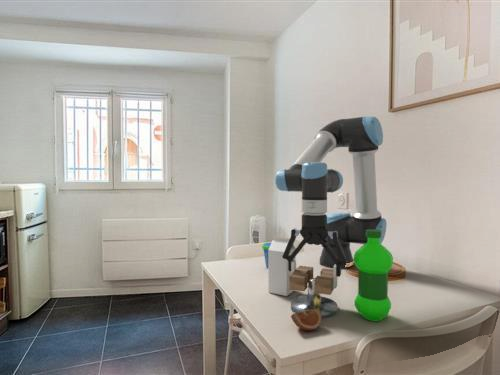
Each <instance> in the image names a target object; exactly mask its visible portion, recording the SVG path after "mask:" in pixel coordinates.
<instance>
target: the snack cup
mask: <svg viewBox="0 0 500 375" xmlns="http://www.w3.org/2000/svg"><path fill="white" fill-rule="evenodd" d="M271 243H272V241H271V242H265V243H263V244H262V246H261V247H262V250H263V257H264V262H265V267H266V268H268V249H269V247H270V245H271Z"/></svg>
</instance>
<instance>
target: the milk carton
mask: <svg viewBox="0 0 500 375" xmlns="http://www.w3.org/2000/svg"><path fill="white" fill-rule="evenodd" d="M289 240H290V238H289V237H280V236H272V241H271V242H272V243H271V242H270V243H271V245H270V247H269V249H268V272H267V273H268V276H267V278H268V280H267V281H268V282H267V283H268V287H267V288H268V291H267V292H268V293H270V294H275V295H279V296H284V297H288V296H289V295H290V294H292V293H293V292H294V291H296V290H290V289H289V276H290V275H291V271H289V270H288V260H287V259H283V258H282V256H283V254H284V251H285V249H286V247H287V244H288V242H289ZM296 248H297V247H295V245H294V244H293V246H292V248H291V251H290V253H289V255H291V254H292V253H293V252H294V250H295V249H296ZM296 257H297V255H296V256H295V258H294V259H293V260H296ZM296 261H297V260H296Z"/></svg>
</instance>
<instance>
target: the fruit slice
mask: <svg viewBox="0 0 500 375" xmlns="http://www.w3.org/2000/svg"><path fill="white" fill-rule="evenodd" d="M290 318H291V320H292V322H293V323H294V325H295V326H297V327H298V328H299V329H301V330H304V331H309V332H310V331H314V330H316V329H317V328H319V327H320V325H321V324H322V319H323V318H322V317H321V312H320V310H319V308H316V309H313V310H308V311H306V310H305V312H301V313H292V314H291V316H290Z"/></svg>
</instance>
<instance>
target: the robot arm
mask: <svg viewBox="0 0 500 375" xmlns="http://www.w3.org/2000/svg"><path fill="white" fill-rule="evenodd" d="M383 141H384V134H383V128H382V125H381V122H380V120H379V119H378V117H376V116H365V115H364V116H359V117H351V118H339V119H336V120H334V121H331V122H329V123H327V124H326V125H324V126H323V127H322V128H321V129H320V130H318V131H317V132H316V134H315V135H314V138H313V141H312V142H311V143H310V144H309V145H308V146H307V148H306V149H305V150H304V151H303V152H302V153H301V154H300V156H299V157H297V159H296V160H295V162H293V164H291V166H290V167H289V168H288V169H286V168H285V169H280V170H278V171H277V172H276V174H275V177H274V178H275V179H274V180H275V185H276V188H277V189H278V191H281V192H282V191H283V192H289V193H290V192H297V193H298V192H299V193H300V192H301V213H302V215H301V228H300V229H297V227H296V228H292V229H291V231H290V240H289V242H288V244H287V247H286V249H285V251H284V254H283V256H282V258H283V259H287V260H288V270H289V271H291V274H292V273H293V272H294V271H295V270H296V269H297V260H293V259H294V258H295V256H296V257H297V256H298V254H299V253H300V251H301V250H302V249H303V247H305V245H306V244H308V245H311V246H312V245H315V246H319V245H321V247H322V250H321V254H320V256H319V264H320V265H321V266H323V267H328V268H331V269H333V288H334V289H337V287H338V278H340V277H341V275H342V269H346V268H345V265H346V263H350V262H353V261H354V256H353V254H352V251H351V244H357V245H358V244H359V245H364V244H365V243H367V237H366V236H365V233H366V230H367V229H376V230H381V231H382V234H381V238H379V243H380V244H382V243H383V242H384V240H385V236H386V231H387V219H386V218H384V217H382V213H381V212H380V211H379V210H378V199H377V176H376V174H377V173H376V155H375V154H376V153H377V152H378V151H379V147H380V146H382V145H383ZM336 148H347V149H348V150H347V151H348V153H349V154H350V155H352V166H353V170H352V171H353V181H354V182H353V186H354V199H355V200H354V201H355V210H354V211H353V213H352V215H351V213H350V212H335V213H328V193H334V192H337V191H339V190H340V189H342V186H343V184H344V178H343V175H342V173H341V172H339V171H338V170H335V169H333V168H328V164H327V163H326V162H323V160H324V159H325V158H326V157H327V155H328V153H331V152H333V151H334V150H335V149H336ZM326 213H328V214H326ZM299 235H300V236H301V238H302V239H301V241H300V242H299V243H298V245H297V246H296V247H295V248H296V249H295V250H294V252H293V253H292V254H291V255H289V253H290V251H291V248H292V246H293V245H294V243H295V241H296V238H297V237H298V236H299Z"/></svg>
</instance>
